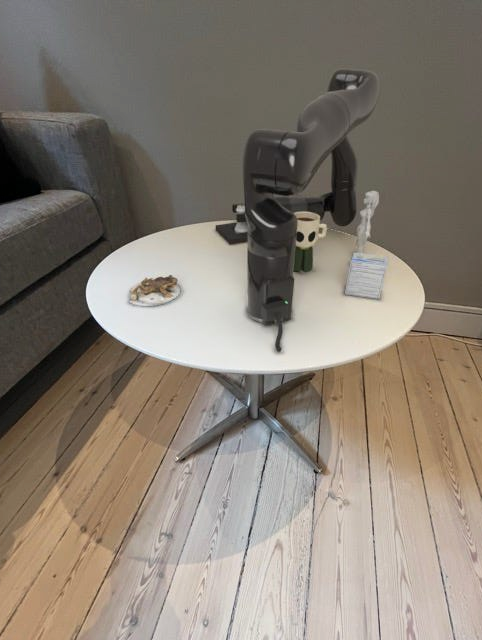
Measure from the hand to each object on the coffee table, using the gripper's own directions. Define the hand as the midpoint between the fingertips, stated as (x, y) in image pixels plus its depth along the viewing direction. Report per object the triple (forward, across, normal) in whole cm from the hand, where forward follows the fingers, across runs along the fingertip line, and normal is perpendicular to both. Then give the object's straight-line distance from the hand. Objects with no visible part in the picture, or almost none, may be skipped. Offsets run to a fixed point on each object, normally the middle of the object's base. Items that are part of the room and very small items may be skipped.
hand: (234, 213), depth 111 cm
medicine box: (-24, +40, +6) cm, 47 cm away
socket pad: (-2, 0, +6) cm, 7 cm away
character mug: (-13, +25, +6) cm, 29 cm away
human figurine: (-29, +25, +6) cm, 39 cm away
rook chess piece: (-2, 0, +6) cm, 7 cm away
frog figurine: (+23, +32, +6) cm, 40 cm away
